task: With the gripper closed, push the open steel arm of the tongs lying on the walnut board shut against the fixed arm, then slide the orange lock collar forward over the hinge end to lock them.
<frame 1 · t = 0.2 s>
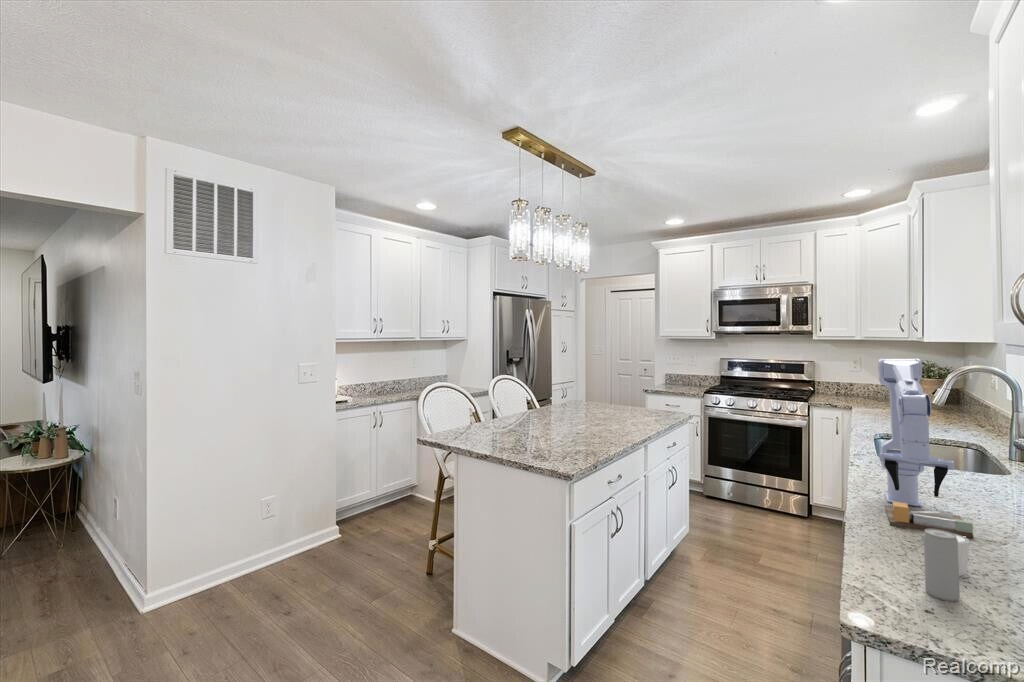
hand: (916, 492, 120), 10 cm above the countertop, tool pointing down, fingers open, 7 cm apart
tong board: (925, 522, 124), on the countertop
tong arm: (930, 515, 123), point 2 cm above the countertop, hinge at 30.0°
beverage can: (942, 597, 88), on the countertop
lock collar: (900, 511, 123), point 3 cm above the countertop, slide at 0.0 cm
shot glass: (948, 569, 99), on the countertop
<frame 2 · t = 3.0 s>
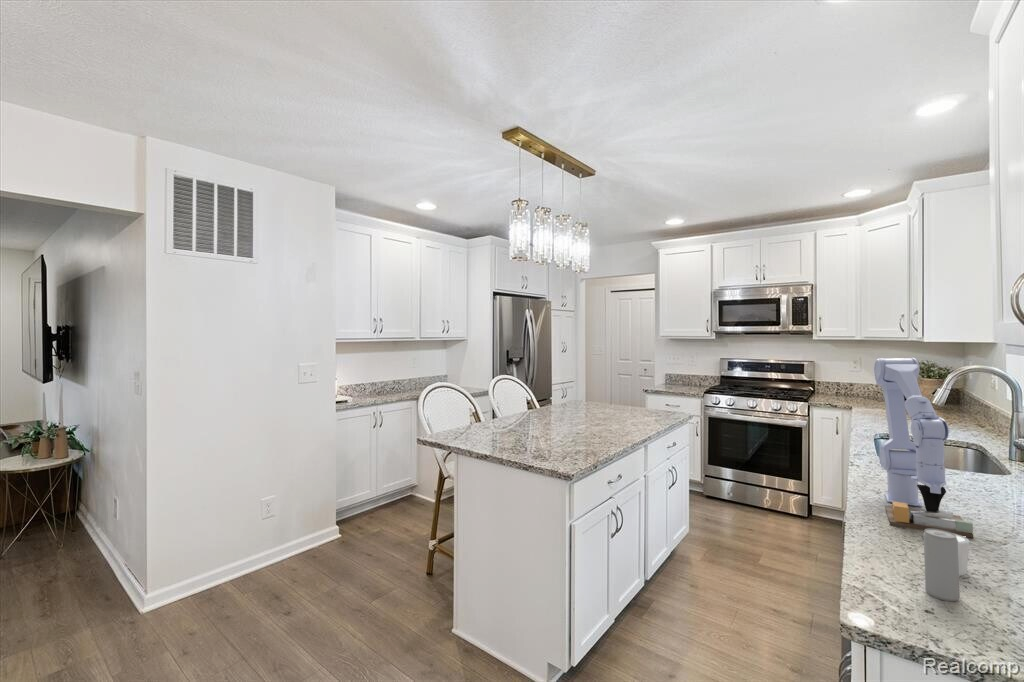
hand: (932, 513, 124), 2 cm above the countertop, tool pointing down, fingers closed, pressing on tong arm
tong arm: (930, 515, 123), point 2 cm above the countertop, hinge at 29.9°, touching gripper
everything else where it was.
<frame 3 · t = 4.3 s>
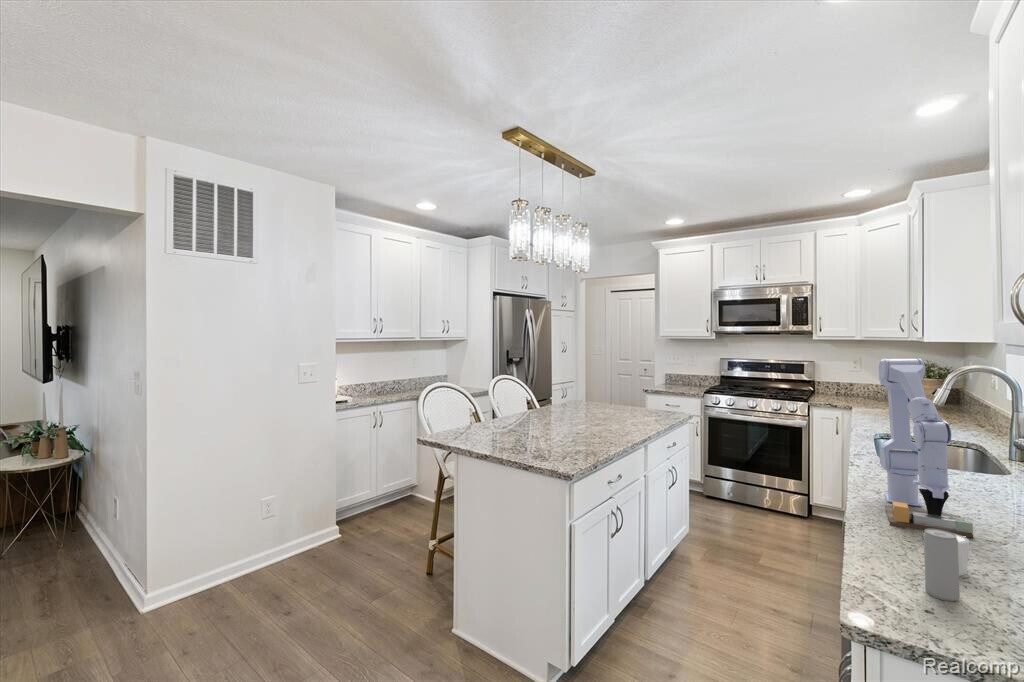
hand: (934, 518, 121), 2 cm above the countertop, tool pointing down, fingers closed, pressing on tong arm
tong arm: (938, 519, 120), point 2 cm above the countertop, hinge at 4.1°, touching gripper
everything else where it was.
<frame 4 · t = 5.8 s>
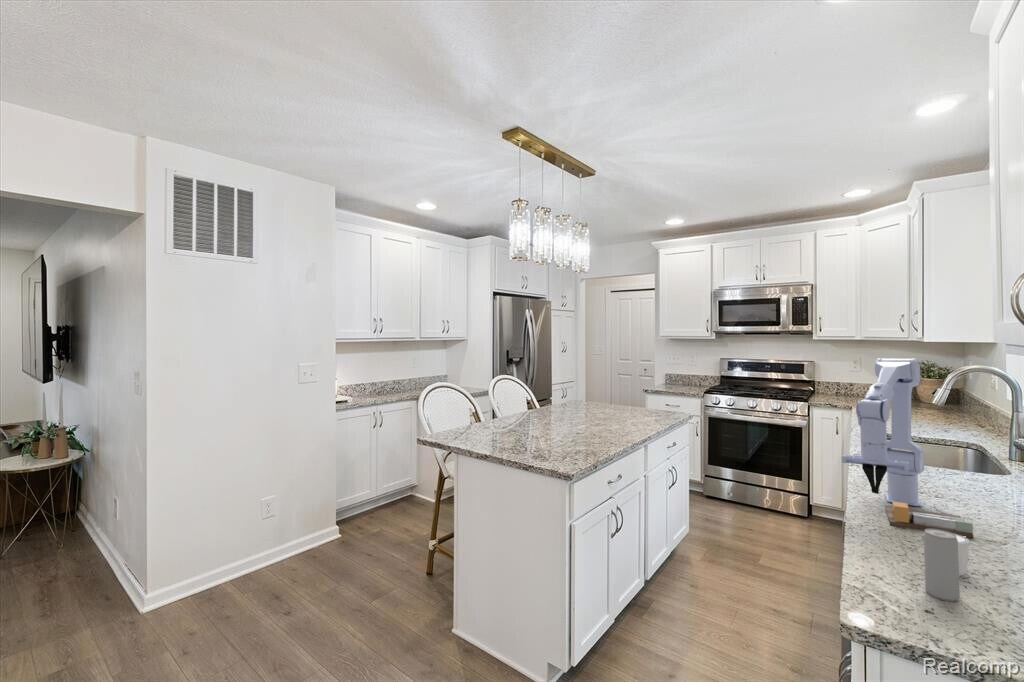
hand: (875, 492, 127), 8 cm above the countertop, tool pointing down, fingers closed
tong arm: (938, 519, 120), point 2 cm above the countertop, hinge at 4.0°
everything else where it was.
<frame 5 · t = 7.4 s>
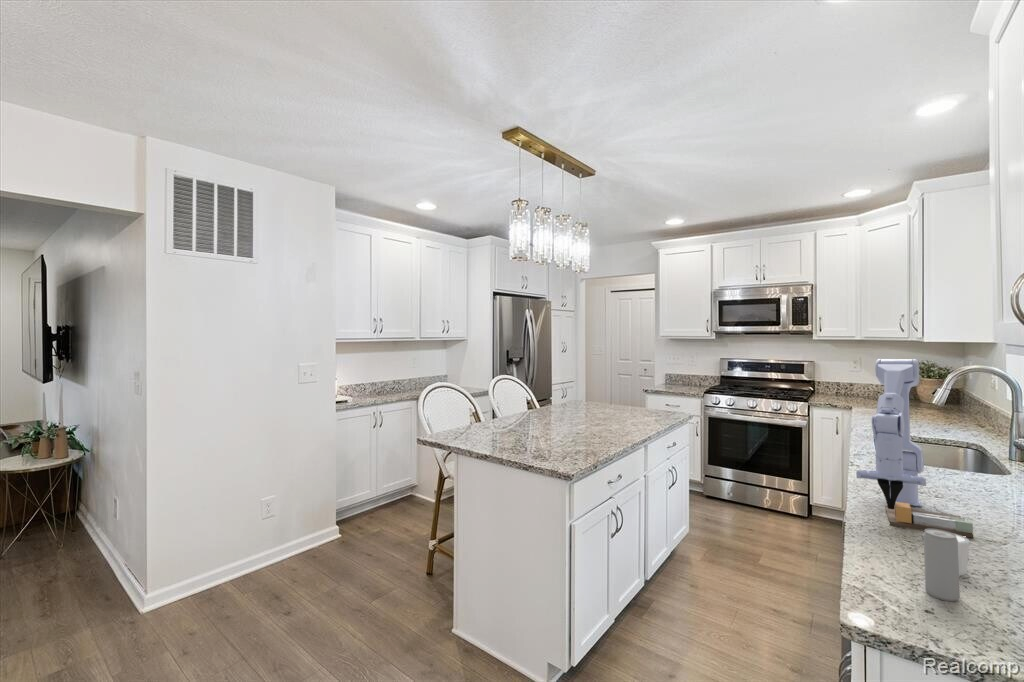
hand: (890, 508, 125), 4 cm above the countertop, tool pointing down, fingers closed
lock collar: (902, 512, 123), point 3 cm above the countertop, slide at 0.5 cm, touching gripper
everything else where it was.
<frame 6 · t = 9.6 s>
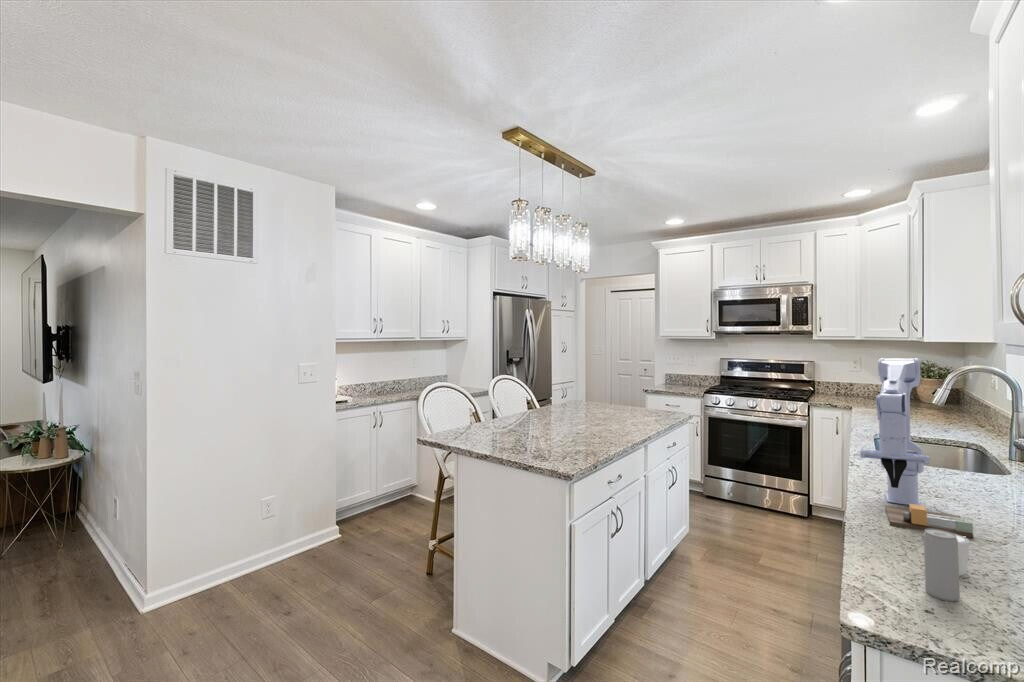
hand: (894, 486, 126), 9 cm above the countertop, tool pointing down, fingers closed
lock collar: (917, 514, 121), point 3 cm above the countertop, slide at 3.5 cm
everything else where it was.
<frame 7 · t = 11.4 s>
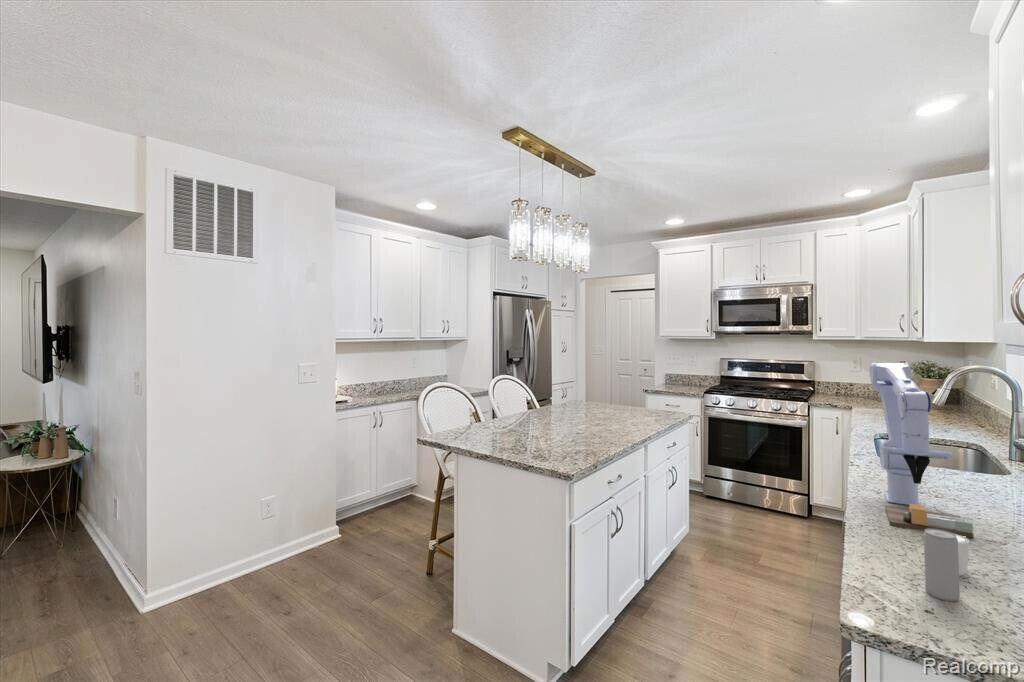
hand: (917, 482, 129), 9 cm above the countertop, tool pointing down, fingers closed
nothing on the countertop moved.
at the end: tong arm at +4° (first picture: +30°); lock collar slide at 3.5 cm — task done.
